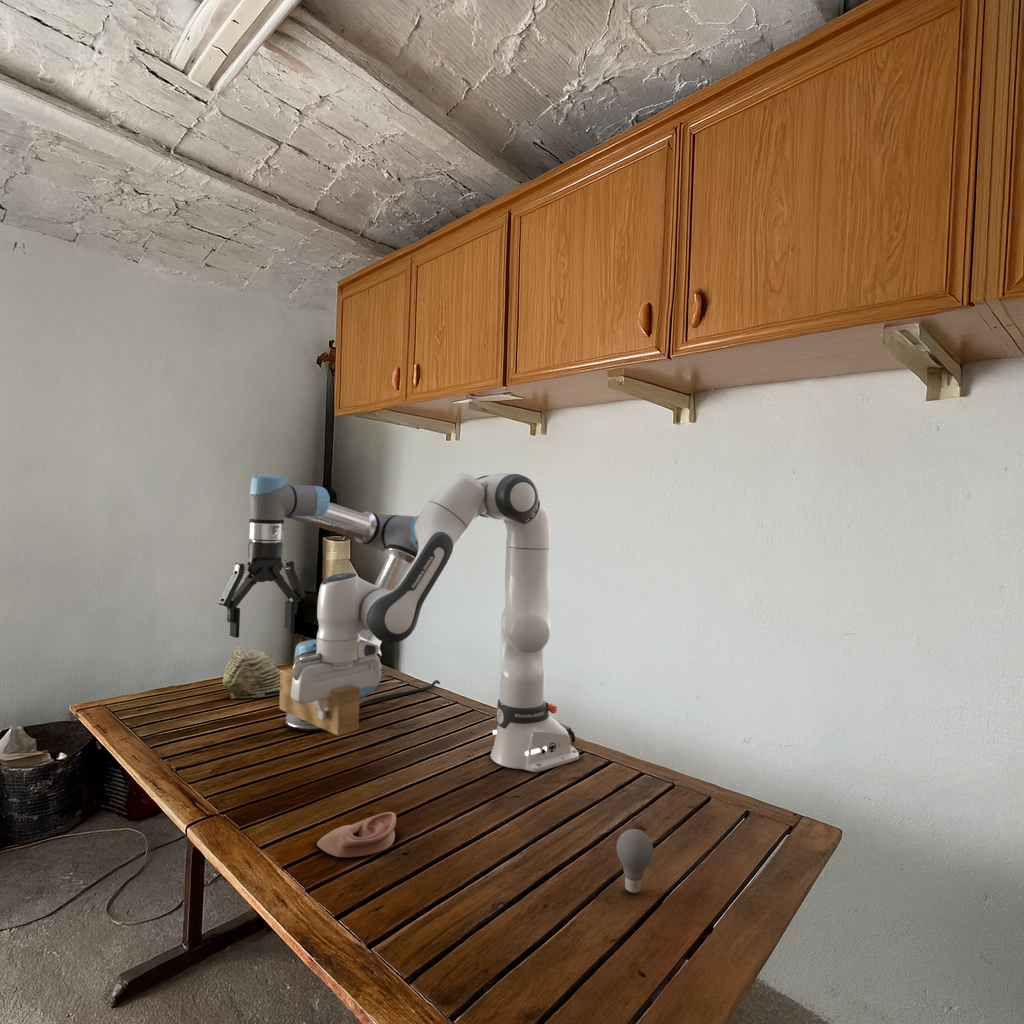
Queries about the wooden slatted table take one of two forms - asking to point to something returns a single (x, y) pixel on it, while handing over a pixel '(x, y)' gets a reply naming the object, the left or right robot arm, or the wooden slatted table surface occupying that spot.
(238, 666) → the fossil
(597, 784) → the wooden slatted table surface
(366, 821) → the anatomical model
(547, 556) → the right robot arm
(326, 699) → the bar
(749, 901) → the wooden slatted table surface
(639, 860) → the light bulb
